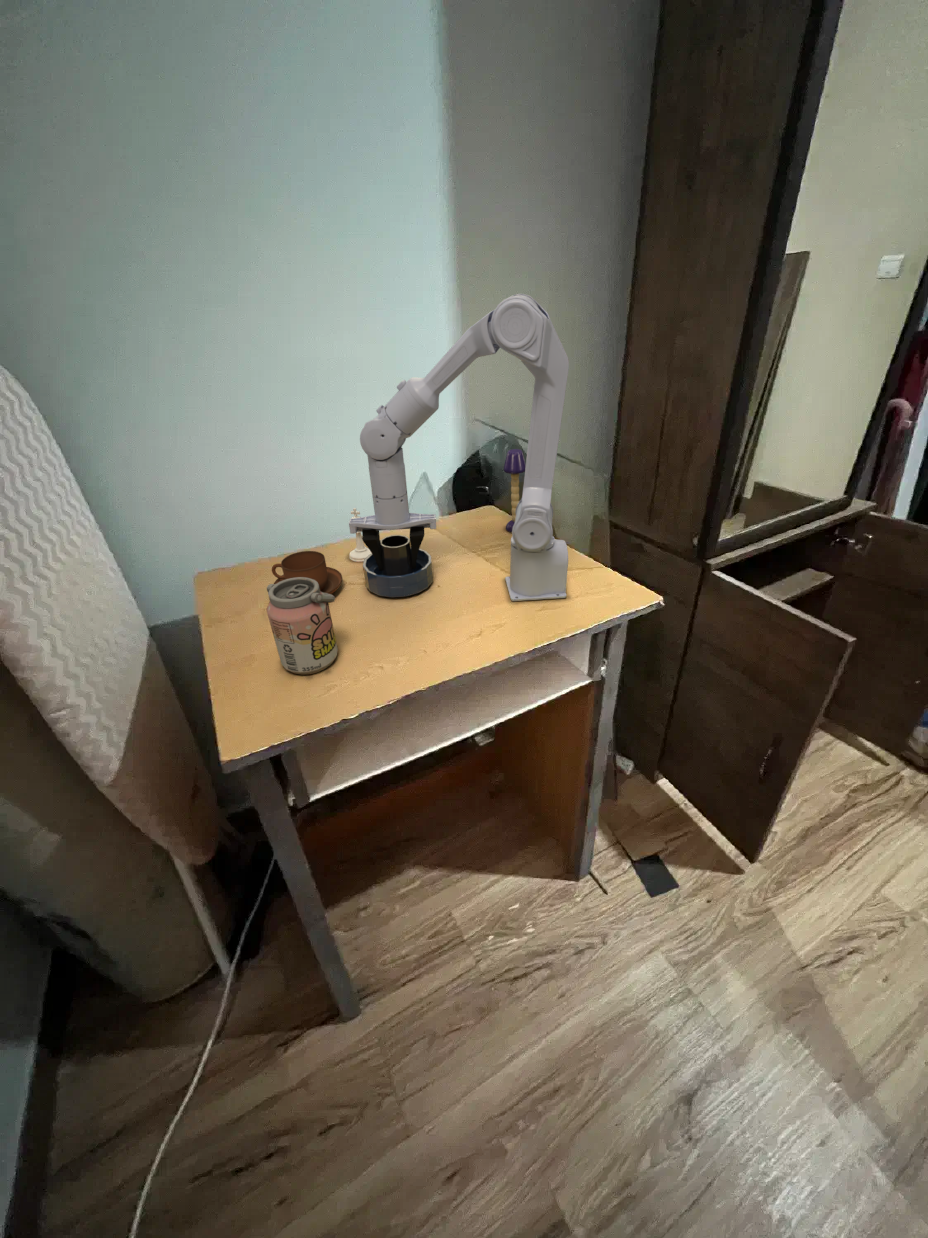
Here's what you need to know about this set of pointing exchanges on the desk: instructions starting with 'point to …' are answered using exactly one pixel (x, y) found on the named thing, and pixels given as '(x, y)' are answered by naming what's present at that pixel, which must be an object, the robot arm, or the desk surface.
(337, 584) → the cup and saucer
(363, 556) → the chess piece
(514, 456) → the toy lamp
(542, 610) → the desk surface
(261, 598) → the desk surface
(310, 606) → the beverage can
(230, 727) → the desk surface
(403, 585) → the bowl
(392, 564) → the cup
